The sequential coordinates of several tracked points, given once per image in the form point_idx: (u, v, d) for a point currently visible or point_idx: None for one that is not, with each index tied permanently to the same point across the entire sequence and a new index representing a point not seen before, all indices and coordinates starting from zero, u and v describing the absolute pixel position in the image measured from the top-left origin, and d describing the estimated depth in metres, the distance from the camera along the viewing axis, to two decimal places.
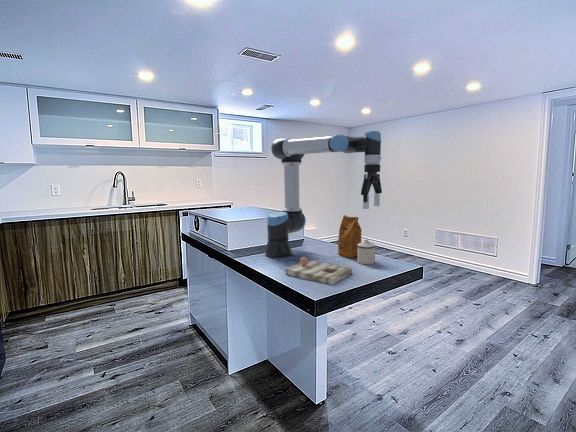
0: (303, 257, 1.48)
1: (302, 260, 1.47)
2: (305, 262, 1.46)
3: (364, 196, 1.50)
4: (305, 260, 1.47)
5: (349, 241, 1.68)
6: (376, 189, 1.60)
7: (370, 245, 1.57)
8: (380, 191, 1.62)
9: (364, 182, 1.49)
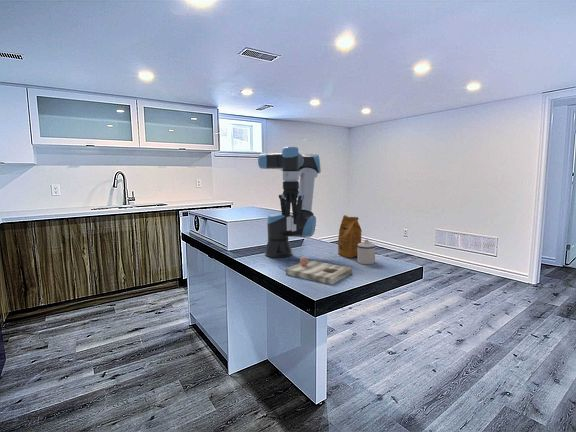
0: (303, 257, 1.48)
1: (302, 260, 1.47)
2: (305, 262, 1.46)
3: None
4: (305, 260, 1.47)
5: (349, 241, 1.68)
6: None
7: (370, 245, 1.57)
8: (294, 216, 1.47)
9: None
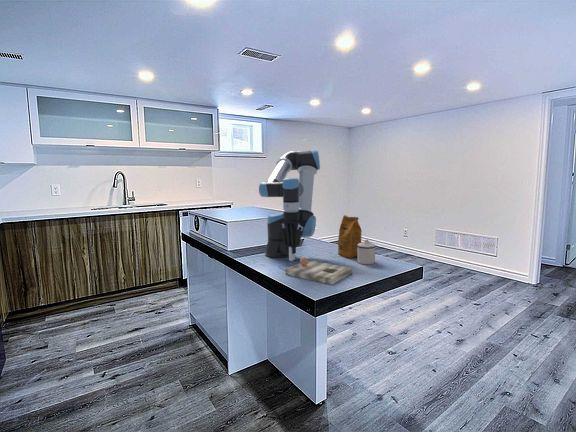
0: (303, 257, 1.48)
1: (302, 260, 1.47)
2: (305, 262, 1.46)
3: None
4: (305, 260, 1.47)
5: (349, 241, 1.68)
6: None
7: (370, 245, 1.57)
8: (293, 246, 1.49)
9: None
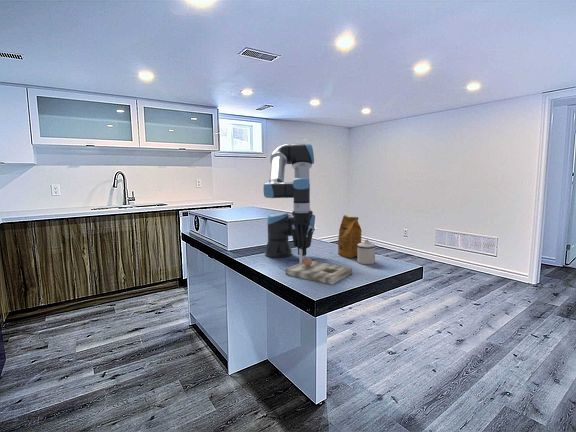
0: (309, 260, 1.46)
1: (307, 262, 1.45)
2: (307, 265, 1.46)
3: None
4: (309, 264, 1.46)
5: (349, 241, 1.68)
6: None
7: (370, 245, 1.57)
8: (303, 248, 1.45)
9: None
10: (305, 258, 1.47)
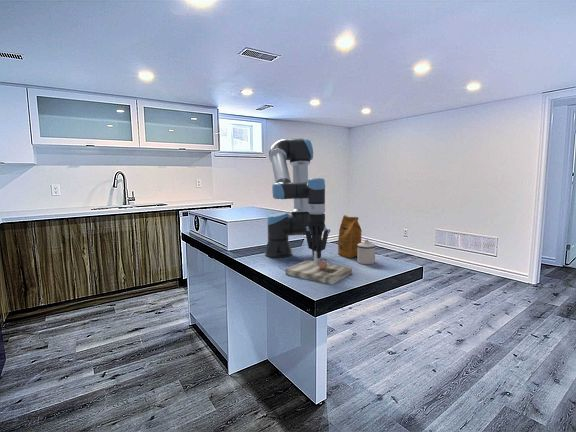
0: None
1: (319, 264, 1.41)
2: (322, 262, 1.41)
3: None
4: (321, 261, 1.41)
5: (349, 241, 1.68)
6: None
7: (370, 245, 1.57)
8: (318, 250, 1.41)
9: None
10: (320, 268, 1.42)
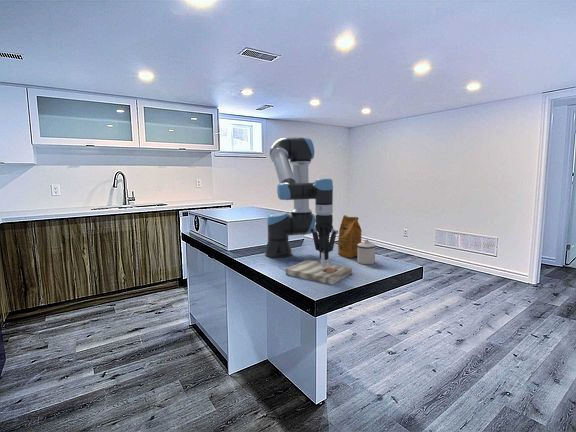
0: None
1: None
2: None
3: None
4: None
5: (349, 241, 1.68)
6: None
7: (370, 245, 1.57)
8: (326, 251, 1.39)
9: None
10: (330, 268, 1.39)
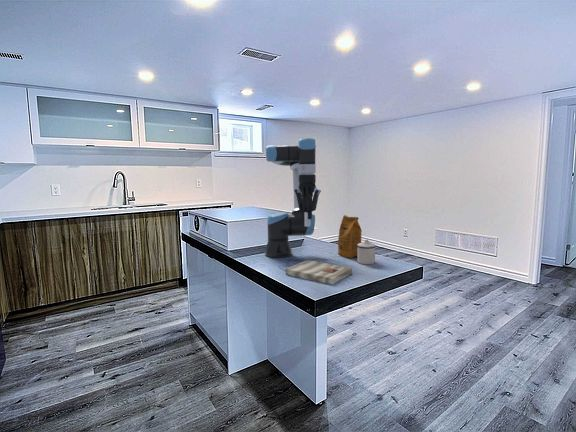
0: (331, 269, 1.39)
1: (328, 272, 1.39)
2: None
3: None
4: None
5: (349, 241, 1.68)
6: None
7: (370, 245, 1.57)
8: (309, 211, 1.42)
9: None
10: None
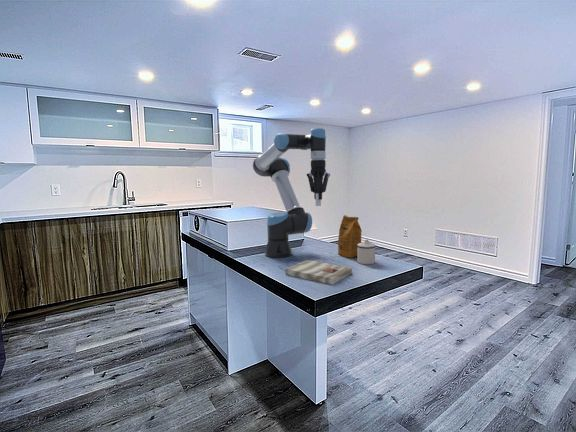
0: (331, 269, 1.39)
1: (328, 272, 1.39)
2: None
3: None
4: None
5: (349, 241, 1.68)
6: None
7: (370, 245, 1.57)
8: (319, 192, 1.62)
9: None
10: None
